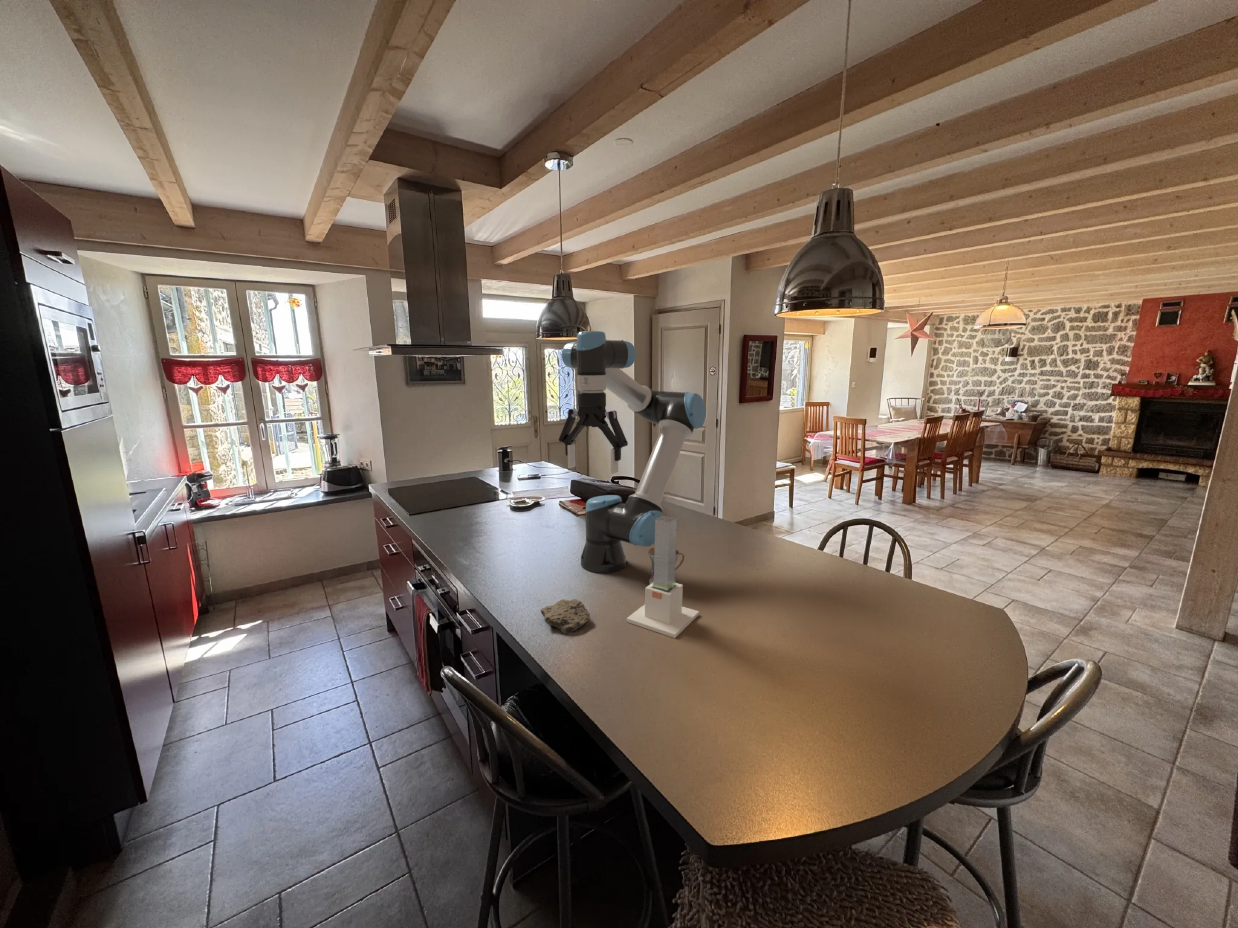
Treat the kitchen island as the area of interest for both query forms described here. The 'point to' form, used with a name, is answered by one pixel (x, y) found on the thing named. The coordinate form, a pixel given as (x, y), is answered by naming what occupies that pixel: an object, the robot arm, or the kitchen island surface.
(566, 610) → the rock
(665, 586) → the column
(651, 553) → the mug
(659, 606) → the stand
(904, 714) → the kitchen island surface
